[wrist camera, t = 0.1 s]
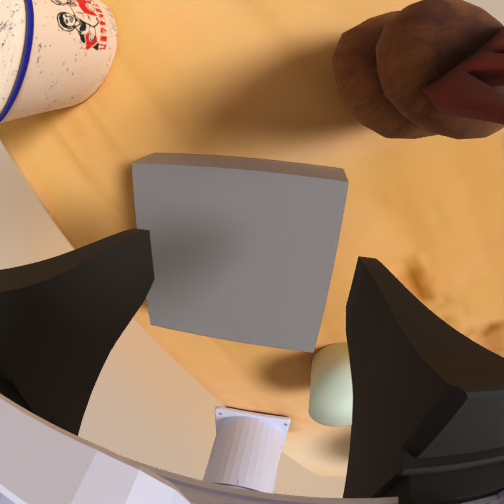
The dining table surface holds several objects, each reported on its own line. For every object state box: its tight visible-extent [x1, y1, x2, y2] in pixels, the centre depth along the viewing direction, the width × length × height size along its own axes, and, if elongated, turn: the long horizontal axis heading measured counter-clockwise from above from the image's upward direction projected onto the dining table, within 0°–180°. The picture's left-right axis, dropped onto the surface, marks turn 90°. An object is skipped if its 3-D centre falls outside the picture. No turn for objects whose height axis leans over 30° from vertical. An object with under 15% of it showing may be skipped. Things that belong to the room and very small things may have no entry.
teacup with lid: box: [0, 0, 117, 124], centre depth 12 cm, size 12×9×12 cm
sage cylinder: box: [309, 343, 353, 427], centre depth 24 cm, size 5×5×5 cm
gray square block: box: [132, 153, 348, 353], centre depth 21 cm, size 12×12×3 cm
